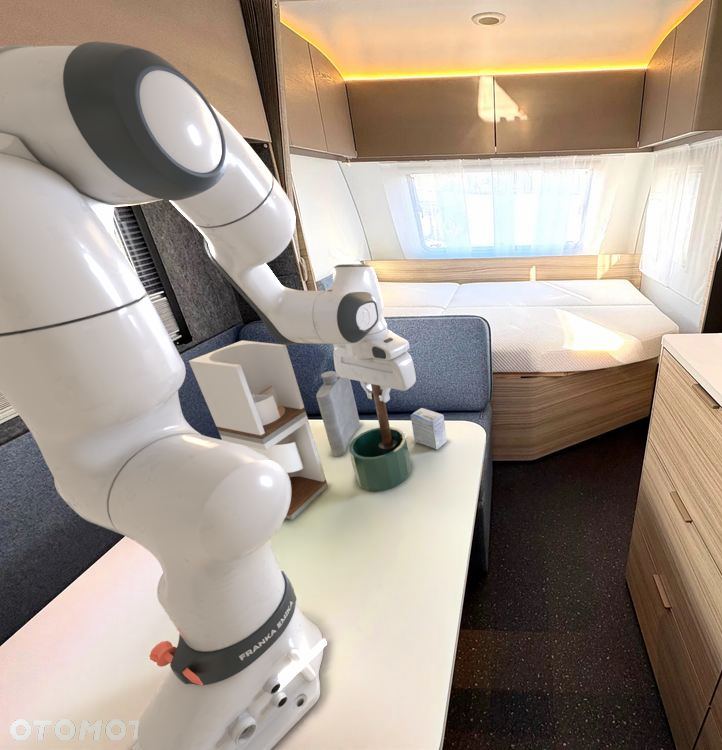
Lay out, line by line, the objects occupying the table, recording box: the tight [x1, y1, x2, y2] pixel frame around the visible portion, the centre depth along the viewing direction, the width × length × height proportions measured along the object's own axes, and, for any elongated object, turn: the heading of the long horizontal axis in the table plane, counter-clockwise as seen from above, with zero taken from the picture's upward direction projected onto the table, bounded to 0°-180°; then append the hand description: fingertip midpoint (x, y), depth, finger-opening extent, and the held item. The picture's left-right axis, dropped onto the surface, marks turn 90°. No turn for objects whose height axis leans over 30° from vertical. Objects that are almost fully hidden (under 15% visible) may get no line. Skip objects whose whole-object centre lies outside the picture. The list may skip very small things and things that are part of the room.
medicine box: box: [410, 407, 448, 451], centre depth 102 cm, size 8×4×9 cm, turn 58°
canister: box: [348, 426, 412, 492], centre depth 91 cm, size 13×13×9 cm
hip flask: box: [315, 370, 361, 457], centre depth 102 cm, size 16×4×20 cm, turn 1°
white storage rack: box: [188, 340, 328, 521], centre depth 79 cm, size 11×11×35 cm
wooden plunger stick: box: [371, 384, 398, 455], centre depth 90 cm, size 4×4×22 cm
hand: (379, 399), depth 87 cm, fingers closed on wooden plunger stick, 2 cm apart
